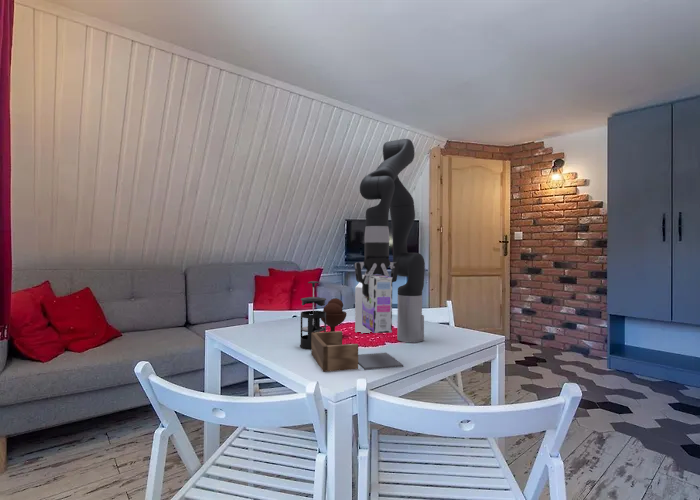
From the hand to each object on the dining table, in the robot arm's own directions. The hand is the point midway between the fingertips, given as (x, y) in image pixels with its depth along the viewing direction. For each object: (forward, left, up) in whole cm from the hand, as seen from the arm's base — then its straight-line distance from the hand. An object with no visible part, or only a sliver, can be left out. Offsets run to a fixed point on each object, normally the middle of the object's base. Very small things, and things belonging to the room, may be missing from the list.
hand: (376, 295), depth 121 cm
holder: (+12, -4, -20) cm, 24 cm away
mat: (0, 0, -20) cm, 20 cm away
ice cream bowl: (+5, -37, -20) cm, 42 cm away
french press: (+15, -24, -20) cm, 35 cm away
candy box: (0, 0, -10) cm, 10 cm away
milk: (-10, -42, -20) cm, 48 cm away
